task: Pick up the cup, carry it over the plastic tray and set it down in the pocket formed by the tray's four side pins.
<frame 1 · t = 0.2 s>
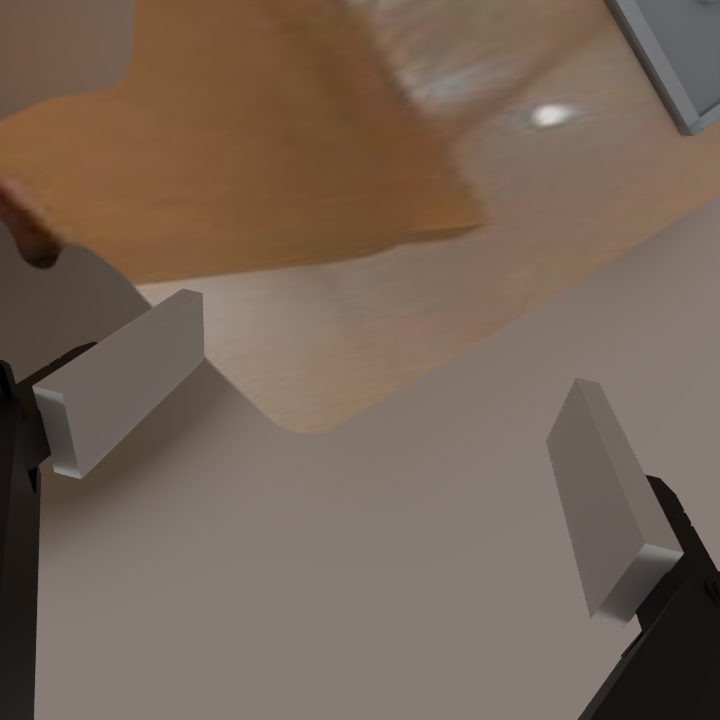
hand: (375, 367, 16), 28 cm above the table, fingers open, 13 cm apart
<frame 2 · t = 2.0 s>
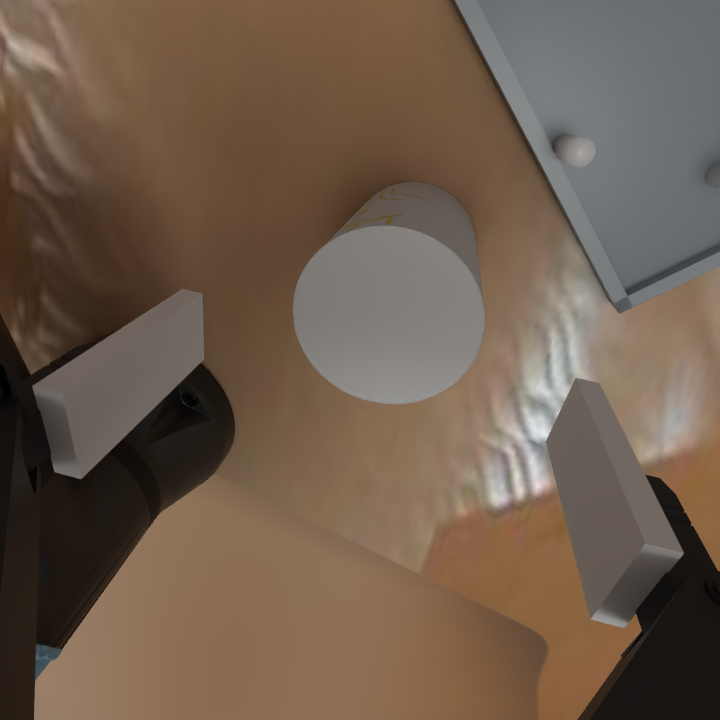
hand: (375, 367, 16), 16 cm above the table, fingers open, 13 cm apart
tray: (668, 73, 23), on the table
cup: (411, 247, 30), on the table
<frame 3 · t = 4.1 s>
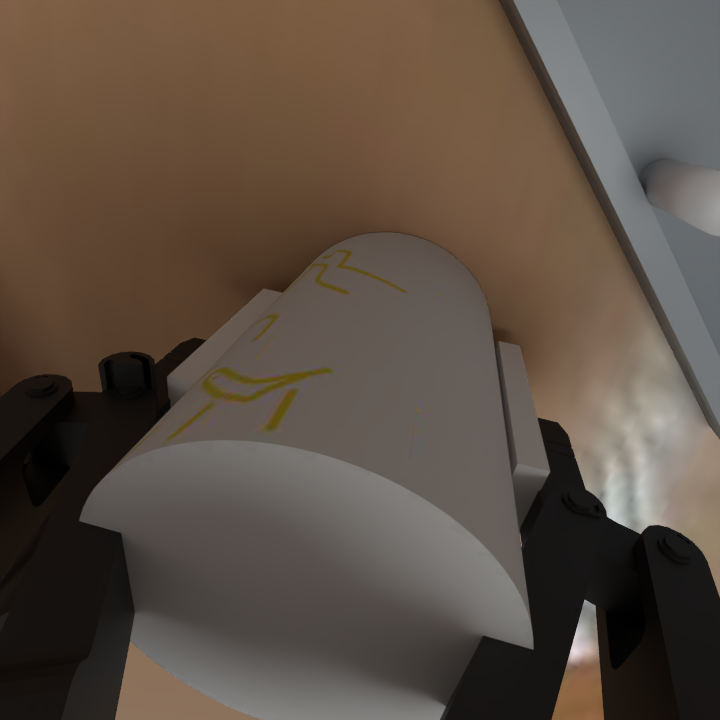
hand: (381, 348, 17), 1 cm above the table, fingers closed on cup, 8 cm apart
cup: (387, 331, 19), on the table, touching gripper
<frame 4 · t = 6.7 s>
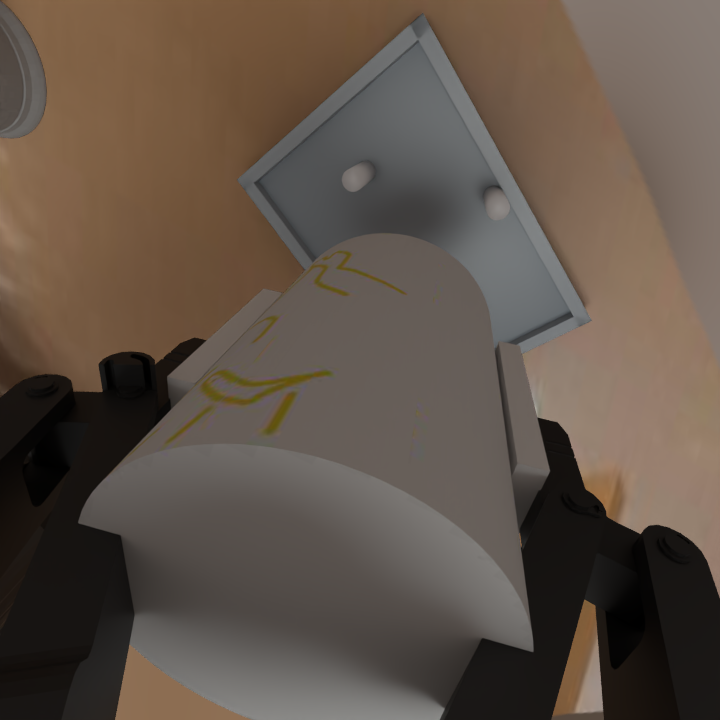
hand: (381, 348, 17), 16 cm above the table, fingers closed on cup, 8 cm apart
tray: (416, 242, 31), on the table
cup: (387, 333, 19), point 14 cm above the table, touching gripper
when the fingers open (4 cm above the table, at t = 9.6 s): cup drops 1 cm, resting on tray.
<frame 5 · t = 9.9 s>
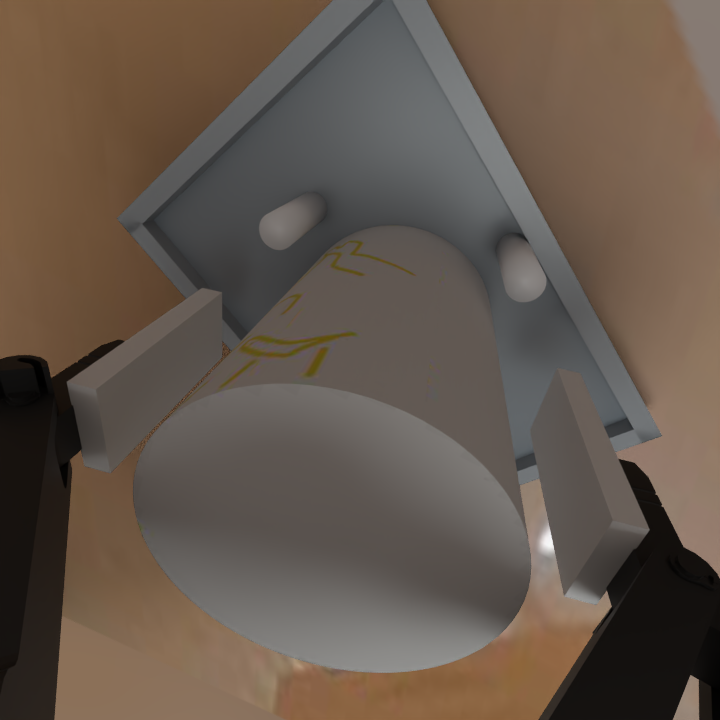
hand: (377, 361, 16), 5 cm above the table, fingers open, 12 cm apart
tray: (395, 308, 21), on the table
cup: (393, 319, 20), point 1 cm above the table, touching tray
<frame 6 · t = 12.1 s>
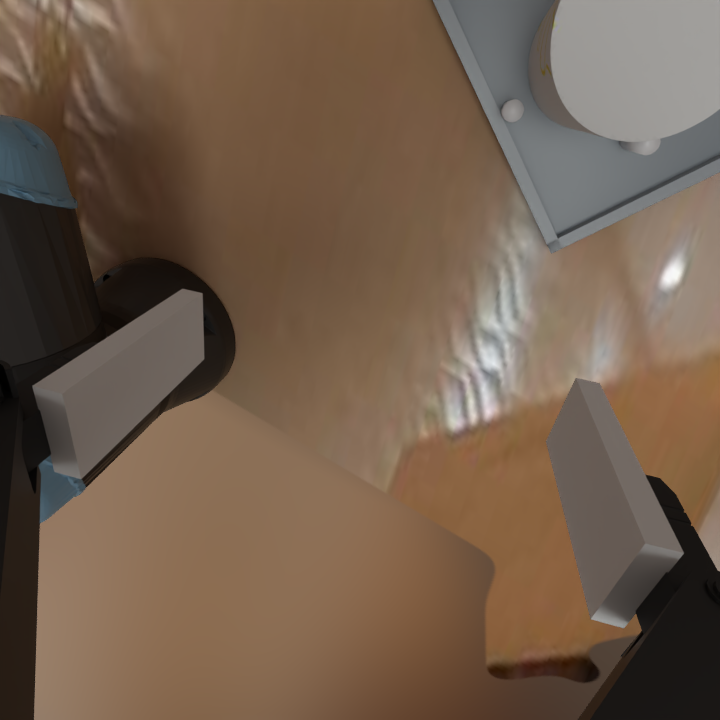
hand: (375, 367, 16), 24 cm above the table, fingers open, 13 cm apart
tray: (593, 56, 29), on the table
cup: (597, 56, 28), point 1 cm above the table, touching tray
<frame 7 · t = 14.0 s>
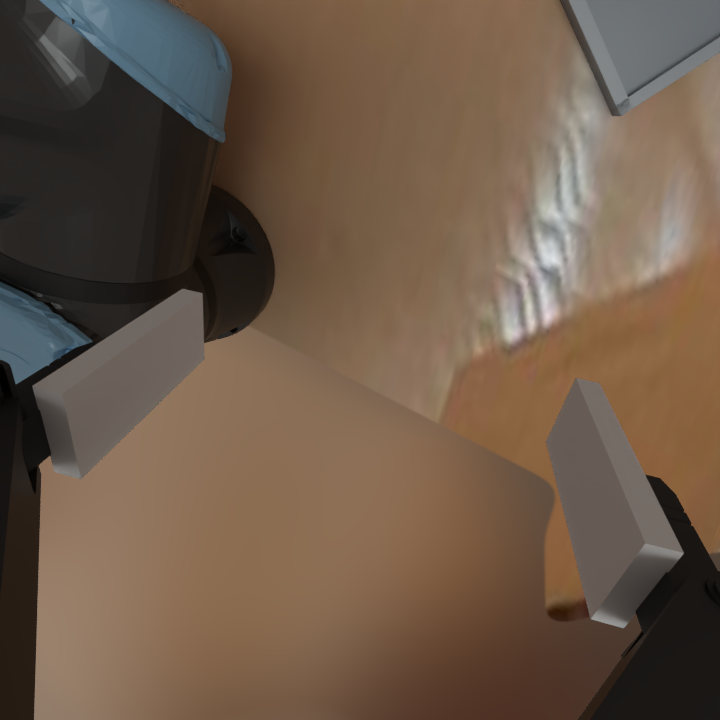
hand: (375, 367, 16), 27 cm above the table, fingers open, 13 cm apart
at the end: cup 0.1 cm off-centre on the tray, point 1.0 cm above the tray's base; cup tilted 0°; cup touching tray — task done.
